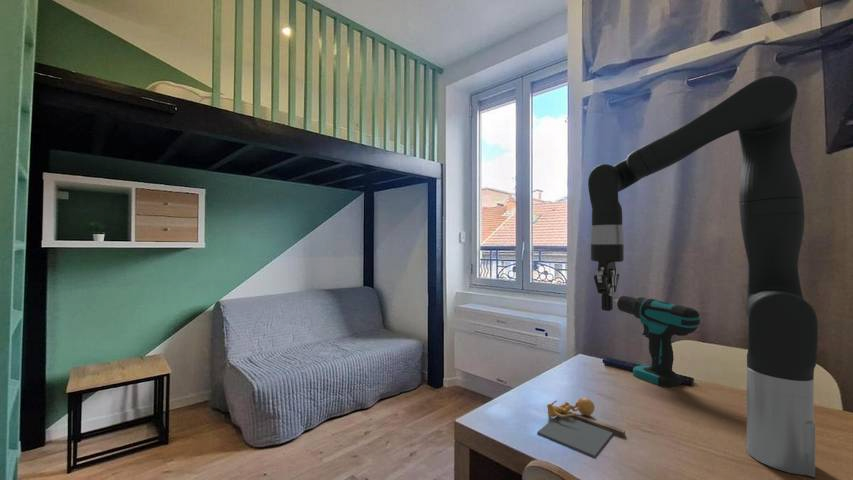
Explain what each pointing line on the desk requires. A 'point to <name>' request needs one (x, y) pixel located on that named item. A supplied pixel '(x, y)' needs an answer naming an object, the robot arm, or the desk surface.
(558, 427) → the mat
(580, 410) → the figurine
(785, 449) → the robot arm
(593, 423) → the bar
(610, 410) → the desk surface
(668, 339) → the power drill
